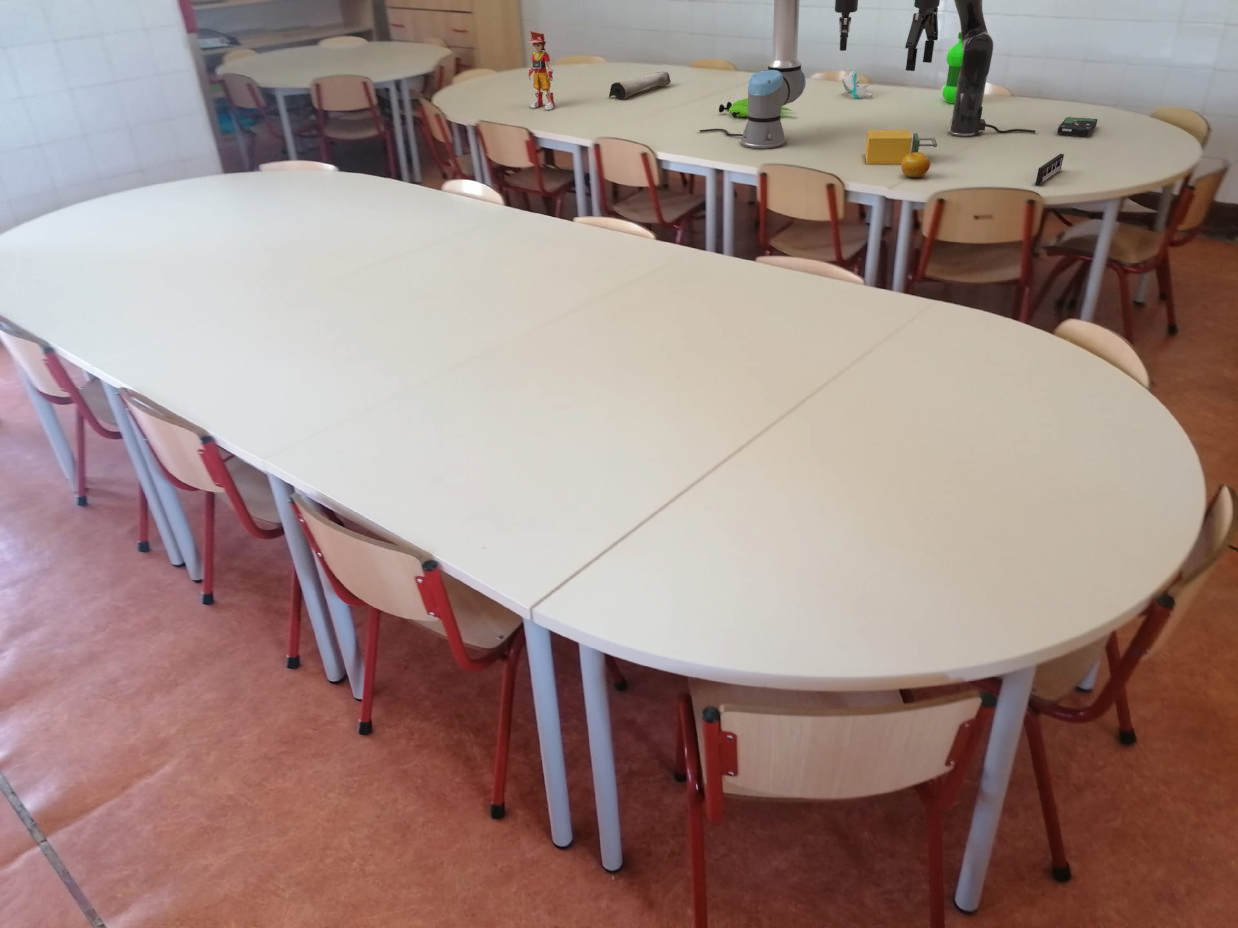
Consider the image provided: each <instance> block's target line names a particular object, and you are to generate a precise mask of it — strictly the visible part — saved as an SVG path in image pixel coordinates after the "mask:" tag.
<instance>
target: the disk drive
mask: <svg viewBox="0 0 1238 928" xmlns="http://www.w3.org/2000/svg"><path fill="white" fill-rule="evenodd" d="M1097 124H1098V118H1089V117H1087V118H1086V117H1073V116H1068V117H1065V118H1064V119H1063V121H1062V122H1061V123H1060V124H1059V126H1058V128H1057V134H1059V135H1065V136H1072V137H1073V136H1075V137H1090V136H1091V134H1092V133H1093V131H1094V130H1095V128H1096V127H1097Z"/></svg>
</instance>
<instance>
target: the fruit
mask: <svg viewBox="0 0 1238 928" xmlns="http://www.w3.org/2000/svg"><path fill="white" fill-rule="evenodd" d="M930 168H931V161H930V158H929V157H928V155H926V154H925V153H923V152H920V151H918V152H914V153H911V152H910V154H908V155H906V156H905V157H904V158H903V160H902V163H901V164H900V170H901V172H902V173H903V174H904V176H906V177H909V178H921V177H923V176H925V175H926V174H927V172H929V170H930Z"/></svg>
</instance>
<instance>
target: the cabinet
mask: <svg viewBox="0 0 1238 928" xmlns="http://www.w3.org/2000/svg"><path fill="white" fill-rule="evenodd" d="M912 141H913V136H912V134H911V130H910V129H868V130H867V132H866V141H865V152H864V157H865V162H866V163H865V164H867V165H901V163H902V160H903V158H904V157H905V156H906V155H908V154H910V153H911V148H912Z"/></svg>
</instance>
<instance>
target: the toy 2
mask: <svg viewBox="0 0 1238 928" xmlns="http://www.w3.org/2000/svg"><path fill="white" fill-rule="evenodd" d="M725 110H726V111H728V113H729V114H730V115H731V117H733V118H735V117H741V118H748V97H747V98H743V99H740V100H737V101H735V102H733V104H732V102H731V101H728V102H727V103H726V107H725V105H724V104H722V103H721V104H720V105H719V107H718V113H723V112H724V111H725ZM781 111H791V112H792V111H794V110H793V109H790V108H787V107H785V106H782V107H781ZM781 118H794V116H793V115H787V114H784V113H783V114H782V113H781Z"/></svg>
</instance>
